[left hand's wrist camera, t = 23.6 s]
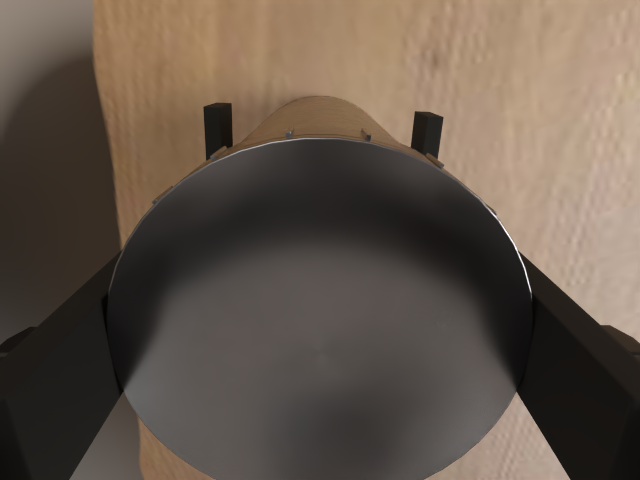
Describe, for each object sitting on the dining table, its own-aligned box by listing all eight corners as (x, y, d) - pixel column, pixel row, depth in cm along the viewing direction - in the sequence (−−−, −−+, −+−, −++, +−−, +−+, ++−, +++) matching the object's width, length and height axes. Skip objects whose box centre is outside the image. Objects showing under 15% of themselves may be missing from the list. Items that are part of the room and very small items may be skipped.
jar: (222, 136, 28) (53, 250, 10) (356, 69, 27) (432, 65, 9) (288, 257, 31) (245, 508, 13) (411, 203, 30) (550, 403, 12)
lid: (144, 81, 10) (108, 82, 8) (567, 170, 10) (613, 188, 9) (124, 425, 13) (97, 474, 12) (442, 474, 14) (458, 526, 12)
